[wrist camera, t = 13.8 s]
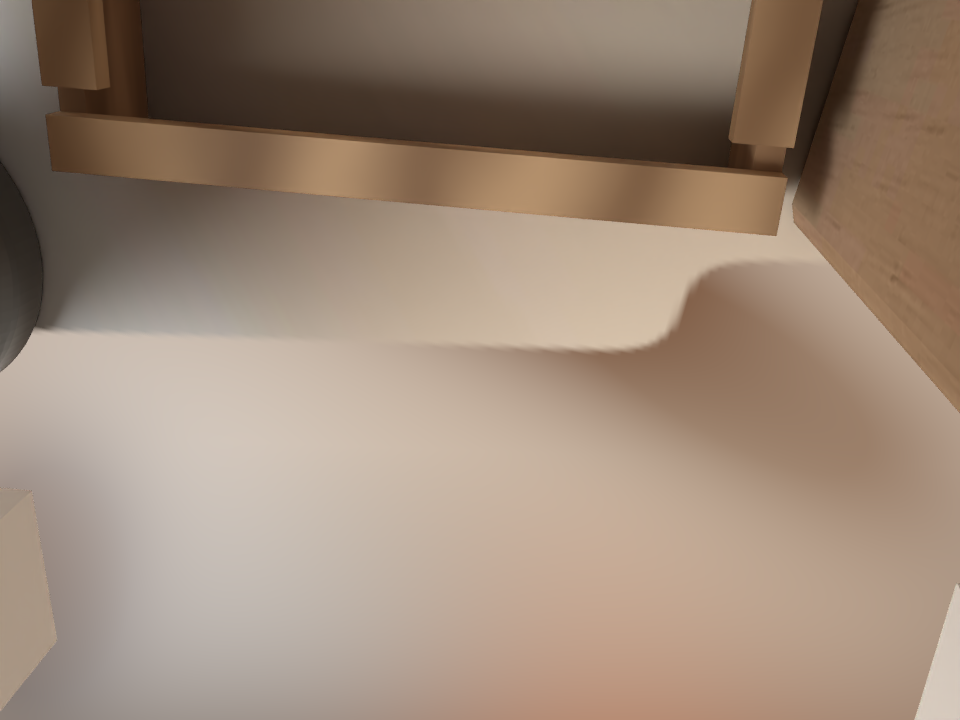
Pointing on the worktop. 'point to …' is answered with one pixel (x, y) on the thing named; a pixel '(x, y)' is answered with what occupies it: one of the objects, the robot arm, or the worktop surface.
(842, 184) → the block
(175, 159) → the tray
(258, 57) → the worktop surface
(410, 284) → the worktop surface
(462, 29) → the worktop surface
